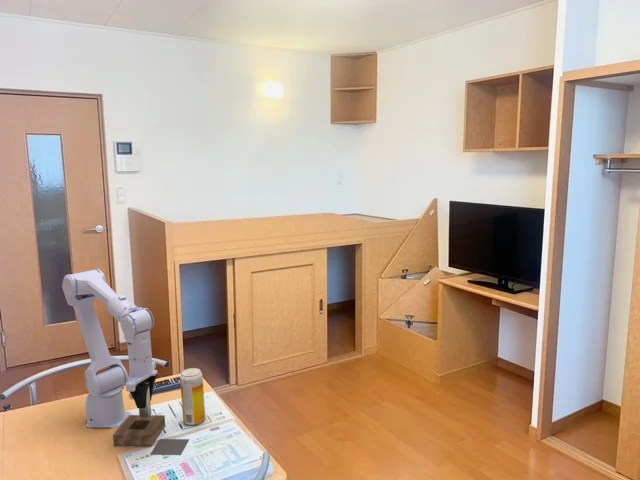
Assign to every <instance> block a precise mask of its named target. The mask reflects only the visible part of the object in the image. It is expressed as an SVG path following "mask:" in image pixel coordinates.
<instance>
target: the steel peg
mask: <svg viewBox="0 0 640 480" xmlns="http://www.w3.org/2000/svg"><path fill="white" fill-rule="evenodd" d="M142 382H144V383H149V381H147V380H143V381H142ZM151 405H152V404H151V401H150V391H149V387H148V391H147V402H146V407H145V408H138V415H139V416H140V417H148V416H150V415H152V406H151Z"/></svg>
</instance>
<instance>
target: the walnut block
mask: <svg viewBox="0 0 640 480" xmlns="http://www.w3.org/2000/svg"><path fill="white" fill-rule="evenodd" d="M165 417H166V416H165V415H158V414H151V415H150V416H148V417H140V416H139V414H130V415H129V416H128V417H127V418H126V419H125V421H124V422H123V423H122V424H121V425H120V427H118V428H116V430H115V432H114V433H113V434H112V440H113V446H114V447H137V448H138V447H140V448H141V447H142V448H143V447H144V448H145V447H147V448H149V447H150V448H151V447H152V446H153V445H154V444H155V442H156V440H157V439H158V438H159V436H160V435H161V433H162V432H163V431H164V429H165V427H166V420H165V419H166V418H165Z"/></svg>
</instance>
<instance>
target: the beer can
mask: <svg viewBox="0 0 640 480" xmlns="http://www.w3.org/2000/svg"><path fill="white" fill-rule="evenodd" d="M179 382H180V395H181V408H182V409H181V411H182V421H183V423H184V424H186V425H187V426H197V425H200V424H201V423H203V422H204V420H205V419H206V410H205V407H206V406H205V396H204V395H205V394H204V393H205V392H204V381H203V373H202V371H201V369H200V368H196V367H191V368H190V367H189V368H187V369H184V370H182V372H181V373H180V377H179Z"/></svg>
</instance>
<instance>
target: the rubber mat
mask: <svg viewBox="0 0 640 480" xmlns="http://www.w3.org/2000/svg"><path fill="white" fill-rule="evenodd" d="M189 441H190V438H187V439H186V438H160V439H159V440H158V441H157V444H156V445H155V446H154V448H153V449H152V450H151V452H150V453H149V456H150V455H151V456H161V455H162V456H182V454H183V452H184V450H185V449H186V447H187V444H188V443H189Z"/></svg>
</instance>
